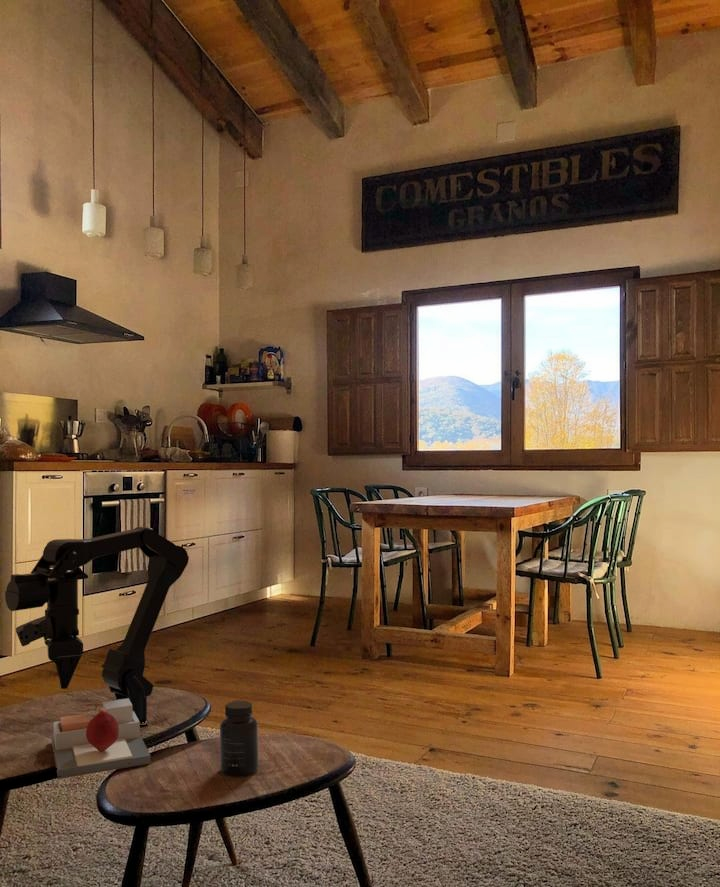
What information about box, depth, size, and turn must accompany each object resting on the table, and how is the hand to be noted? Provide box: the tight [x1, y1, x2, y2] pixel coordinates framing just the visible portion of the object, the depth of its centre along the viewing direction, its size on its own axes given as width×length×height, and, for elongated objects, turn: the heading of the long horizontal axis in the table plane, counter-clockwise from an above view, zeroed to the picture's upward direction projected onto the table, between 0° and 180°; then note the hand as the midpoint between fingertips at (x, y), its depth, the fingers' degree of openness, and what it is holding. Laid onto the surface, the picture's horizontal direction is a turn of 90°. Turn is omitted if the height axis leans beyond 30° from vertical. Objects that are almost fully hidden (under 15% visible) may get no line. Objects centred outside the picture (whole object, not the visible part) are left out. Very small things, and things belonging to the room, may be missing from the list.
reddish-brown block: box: [59, 713, 90, 732], centre depth 153 cm, size 5×5×4 cm
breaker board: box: [50, 711, 152, 780], centre depth 150 cm, size 16×19×4 cm
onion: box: [86, 707, 119, 752], centre depth 146 cm, size 6×6×8 cm
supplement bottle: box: [219, 699, 259, 778], centre depth 142 cm, size 7×7×12 cm
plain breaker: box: [102, 698, 132, 724], centre depth 156 cm, size 5×5×4 cm
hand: (62, 682), depth 156 cm, fingers open, 9 cm apart
